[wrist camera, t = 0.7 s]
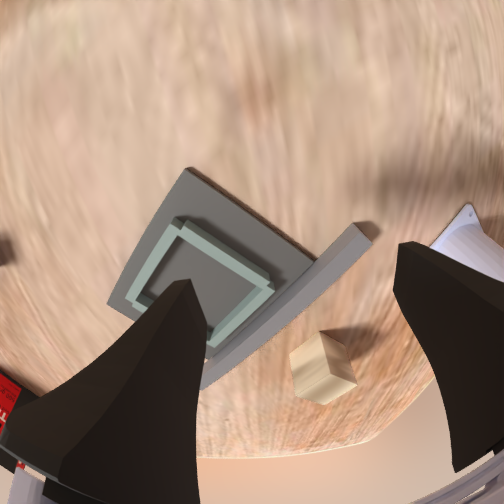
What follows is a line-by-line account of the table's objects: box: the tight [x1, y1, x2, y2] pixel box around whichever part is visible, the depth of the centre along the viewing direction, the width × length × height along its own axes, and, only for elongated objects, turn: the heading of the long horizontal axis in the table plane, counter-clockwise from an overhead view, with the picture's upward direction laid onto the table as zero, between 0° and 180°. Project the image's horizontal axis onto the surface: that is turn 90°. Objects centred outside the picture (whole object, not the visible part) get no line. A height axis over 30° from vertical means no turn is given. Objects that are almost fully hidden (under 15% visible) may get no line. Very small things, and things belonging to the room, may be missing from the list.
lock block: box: [289, 331, 358, 405], centre depth 23 cm, size 4×4×5 cm
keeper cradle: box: [107, 168, 314, 360], centre depth 20 cm, size 11×14×2 cm
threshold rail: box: [200, 223, 372, 390], centre depth 22 cm, size 2×22×2 cm, turn 142°
